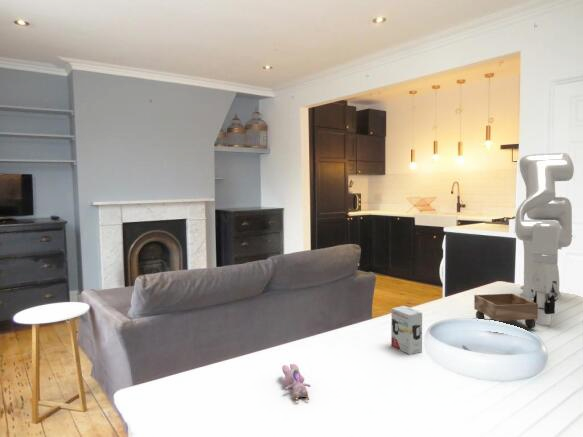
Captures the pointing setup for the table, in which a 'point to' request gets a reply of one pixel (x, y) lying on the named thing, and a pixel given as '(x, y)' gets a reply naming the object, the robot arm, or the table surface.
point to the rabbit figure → (295, 381)
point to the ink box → (406, 329)
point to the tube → (542, 310)
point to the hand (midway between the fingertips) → (543, 310)
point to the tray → (506, 308)
